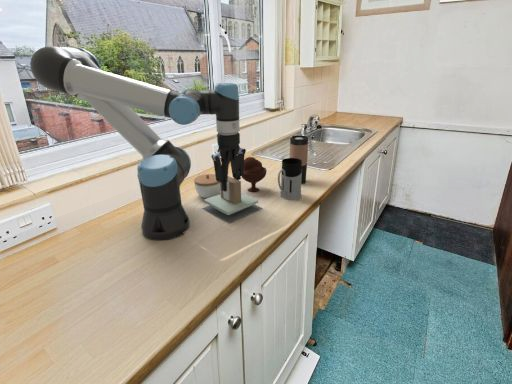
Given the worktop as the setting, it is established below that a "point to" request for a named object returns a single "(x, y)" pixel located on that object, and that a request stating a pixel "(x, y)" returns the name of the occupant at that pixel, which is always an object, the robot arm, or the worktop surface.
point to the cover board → (228, 205)
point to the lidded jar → (207, 185)
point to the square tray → (232, 216)
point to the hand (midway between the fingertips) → (230, 197)
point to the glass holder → (290, 179)
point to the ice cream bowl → (253, 172)
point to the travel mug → (300, 152)
